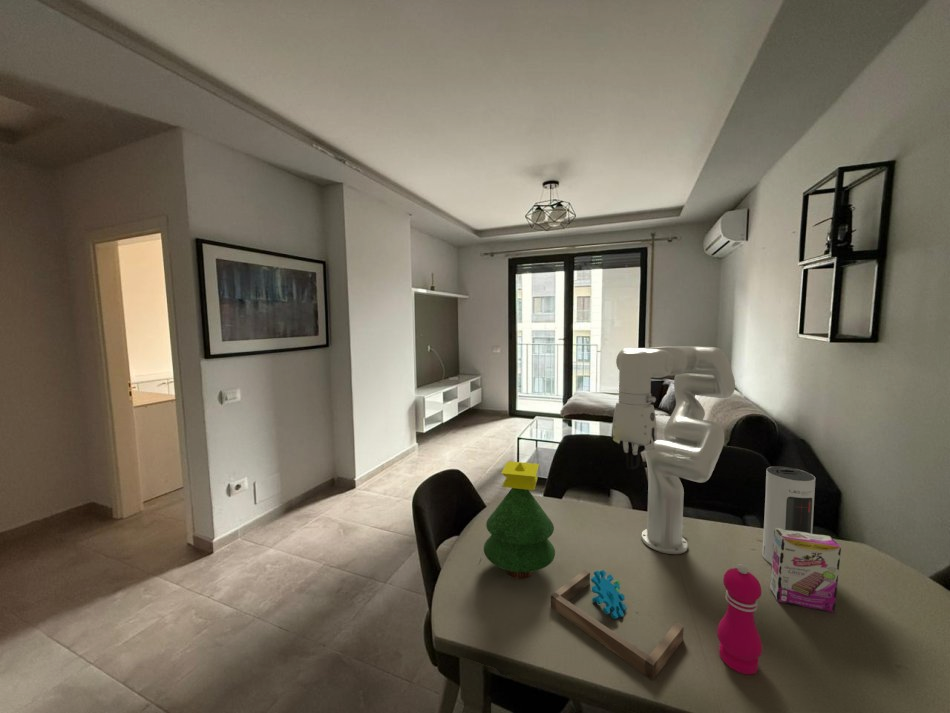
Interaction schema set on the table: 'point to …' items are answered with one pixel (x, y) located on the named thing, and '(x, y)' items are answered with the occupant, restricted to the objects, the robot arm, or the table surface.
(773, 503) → the speaker
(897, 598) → the table surface
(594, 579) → the gear
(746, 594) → the pepper mill
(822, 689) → the table surface
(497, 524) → the decorative tree
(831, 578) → the candy bar box
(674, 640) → the frame
